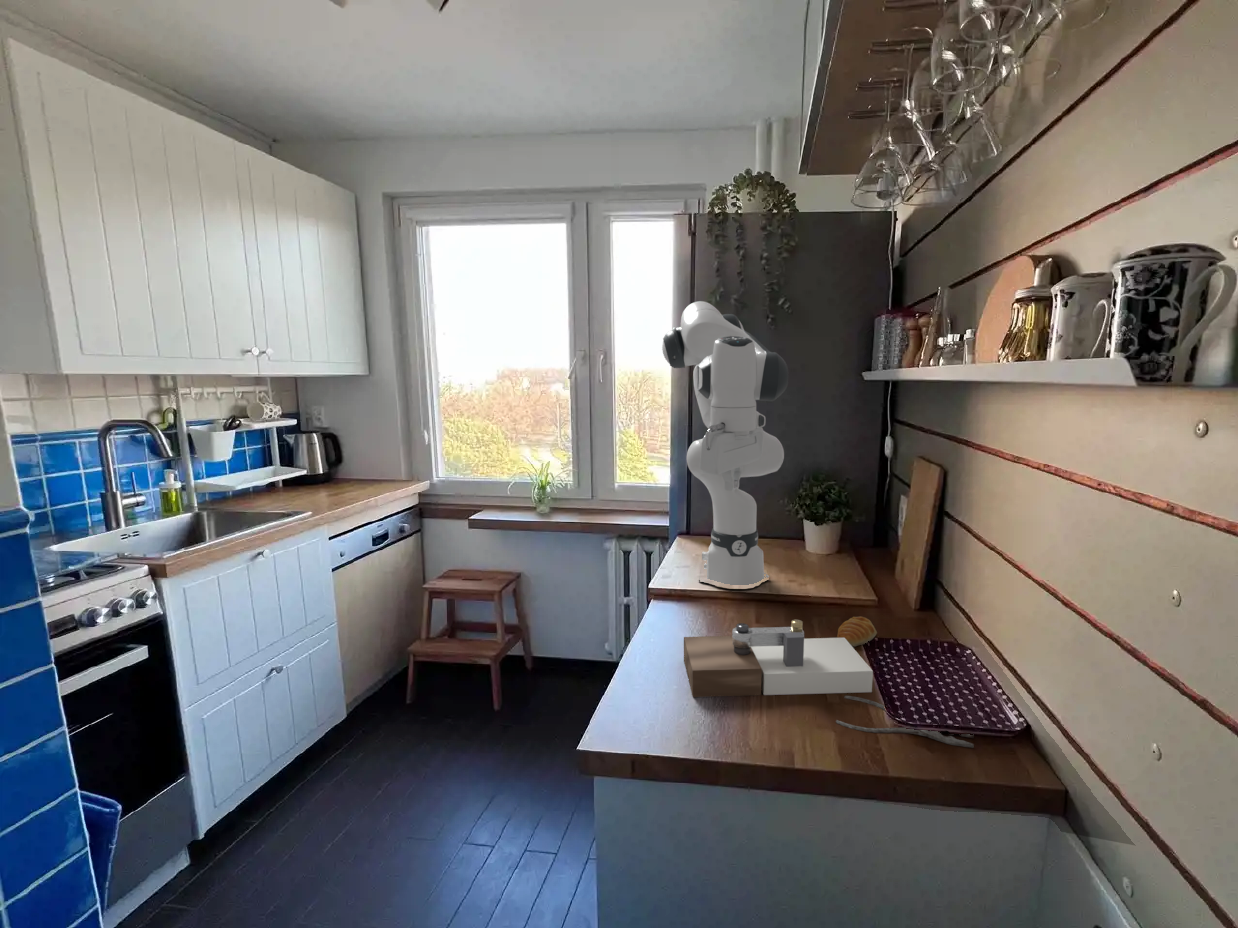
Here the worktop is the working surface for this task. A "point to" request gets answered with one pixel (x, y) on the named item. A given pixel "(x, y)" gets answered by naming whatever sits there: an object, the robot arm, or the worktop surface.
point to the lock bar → (763, 635)
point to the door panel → (812, 667)
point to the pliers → (930, 734)
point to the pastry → (857, 631)
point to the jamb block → (720, 667)
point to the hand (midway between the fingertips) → (731, 489)
